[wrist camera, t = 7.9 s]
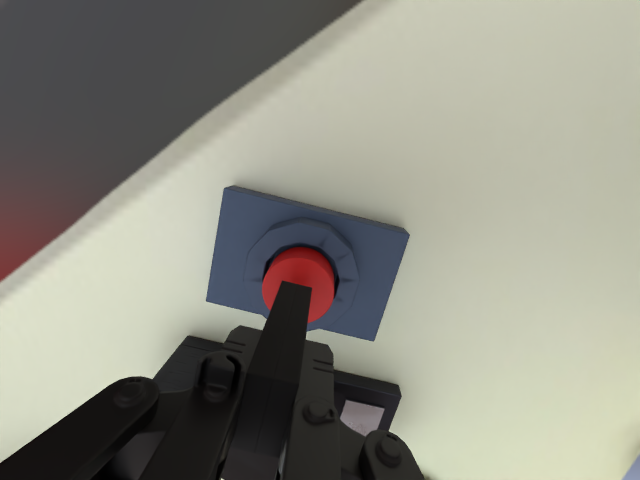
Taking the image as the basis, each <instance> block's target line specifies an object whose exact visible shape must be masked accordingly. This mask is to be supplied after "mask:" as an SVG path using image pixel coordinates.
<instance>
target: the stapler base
mask: <svg viewBox="0 0 640 480" xmlns="http://www.w3.org/2000/svg"><path fill="white" fill-rule="evenodd" d="M222 346H223V344H221V343H217V342H213V341H208V340H204V339H200V338H196V337H191V336H187V337H186V338H185V339H184V341H183V342H182V343H181V344H180V345H179V347H178V348H177V349H176V350H175V352H174V353H173V354H172V355H171V357H170V358H169V359H168V360H167V362H166V363H165V364H164V365H163V367H162V368H161V369H160V370H159V372H158V373H157V374H156V375H155V377H154V378H153V379H152V380H153V381H154V382H156V383H157V385H158V387H159V390H160V391H178V390H184V389H188V388H191V387H193V385H194V379H195V373H196V367H197V361H198V360H199V359H200V358H201V357H202V356H203V355H206V354H208V353H210V352H215V351H220V350H221V349H222ZM333 374H334V407H335V408H336V410H337V412H338V416H339V418H340V419H341V421H342V422H343V423H345V424H346V425H347V426H348V427H350V428H351V429H353V430H354V431H356V432H358V433H360V434H362V435H364V436H366V435H367V434H369V433H370V432H371V431H373V430H378V429H380V430H386V431H388V430H389V428H390V425H391V423H392V420H393V417H394V415H395V412H396V410H397V407H398V404H399V402H400V399H401V397H402V396H401V392H400V389H399V386H398V385H395V384H391V383H386V382H382V381H378V380H374V379H369V378H365V377H361V376H357V375H352V374H348V373H344V372H340V371H336V370H333Z"/></svg>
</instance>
